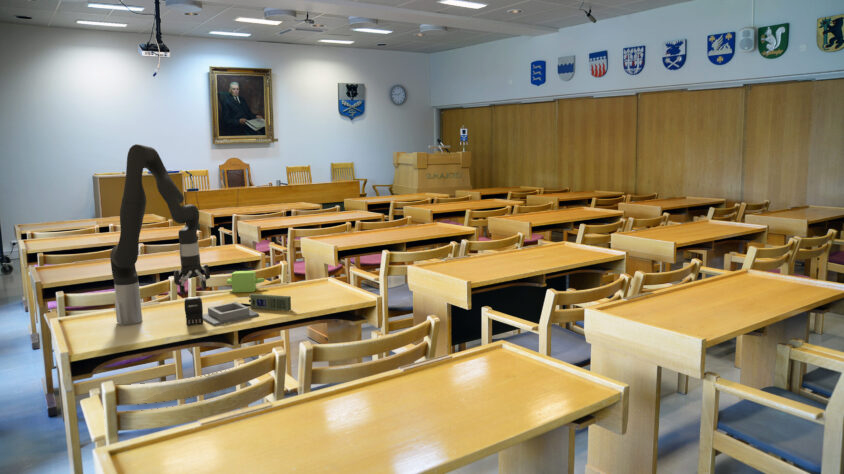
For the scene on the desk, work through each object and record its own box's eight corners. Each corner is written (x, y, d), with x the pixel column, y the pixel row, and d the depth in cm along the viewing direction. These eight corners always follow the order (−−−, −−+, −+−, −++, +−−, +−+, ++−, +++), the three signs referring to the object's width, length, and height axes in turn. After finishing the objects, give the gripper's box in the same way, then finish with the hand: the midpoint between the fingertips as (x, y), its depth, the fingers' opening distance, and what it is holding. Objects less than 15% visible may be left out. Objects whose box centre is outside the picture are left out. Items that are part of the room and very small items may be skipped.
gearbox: (265, 287, 321) (265, 269, 320) (263, 291, 311) (263, 273, 310) (229, 288, 318) (228, 270, 317) (226, 292, 309) (225, 274, 307)
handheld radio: (288, 312, 277) (238, 308, 284) (291, 310, 280) (242, 306, 287) (287, 297, 276) (238, 294, 283) (291, 295, 279) (242, 292, 286)
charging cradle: (214, 326, 258) (213, 316, 258) (199, 317, 270) (198, 308, 269) (258, 315, 271) (258, 307, 271) (242, 308, 283) (241, 299, 282)
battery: (185, 326, 258) (183, 299, 256) (186, 323, 262) (184, 297, 260) (203, 324, 260) (201, 298, 258) (203, 322, 264) (201, 295, 262)
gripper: (176, 257, 249) (180, 297, 252) (210, 251, 258) (213, 289, 261) (168, 255, 254) (173, 293, 257) (202, 249, 264) (206, 286, 267)
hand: (193, 291), depth 259 cm, fingers open, 8 cm apart
